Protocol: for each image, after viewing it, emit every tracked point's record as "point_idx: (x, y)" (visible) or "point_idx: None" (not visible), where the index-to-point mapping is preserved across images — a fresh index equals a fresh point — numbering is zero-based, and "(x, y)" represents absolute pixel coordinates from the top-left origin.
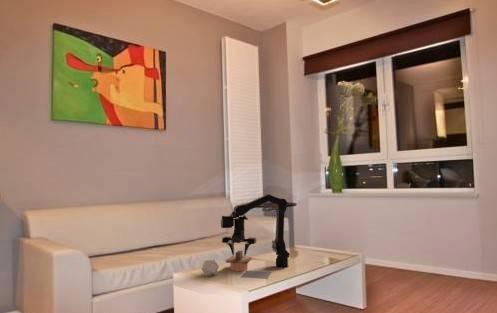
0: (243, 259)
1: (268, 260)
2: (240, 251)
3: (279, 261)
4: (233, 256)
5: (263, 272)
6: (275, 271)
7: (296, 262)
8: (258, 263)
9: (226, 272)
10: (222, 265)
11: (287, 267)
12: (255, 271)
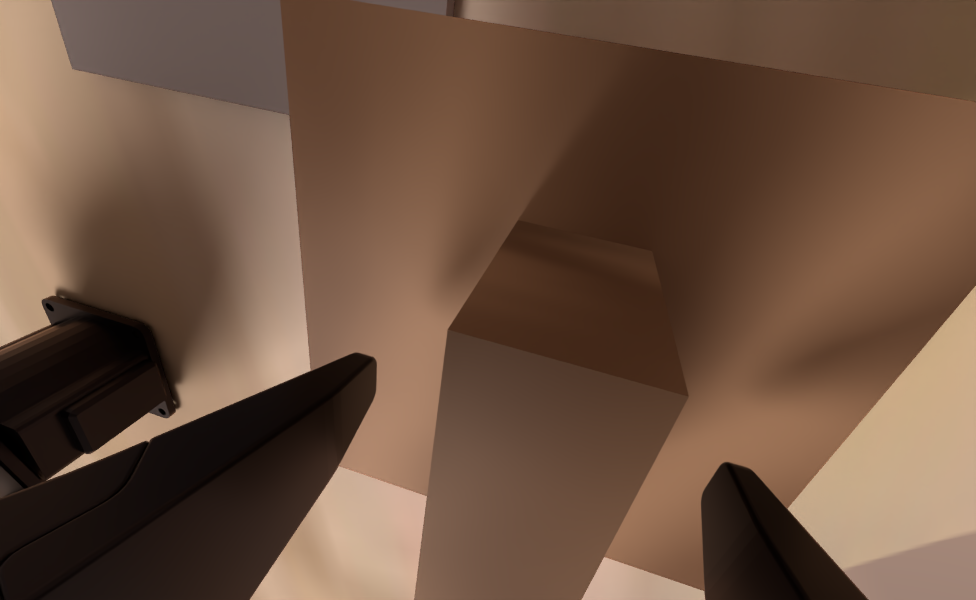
0: (434, 301)
1: (307, 565)
2: (464, 551)
3: (48, 367)
4: (673, 570)
5: (154, 21)
6: (95, 174)
7: None
8: (366, 505)
9: (859, 41)
10: (818, 510)
11: (43, 306)
12: (283, 81)
